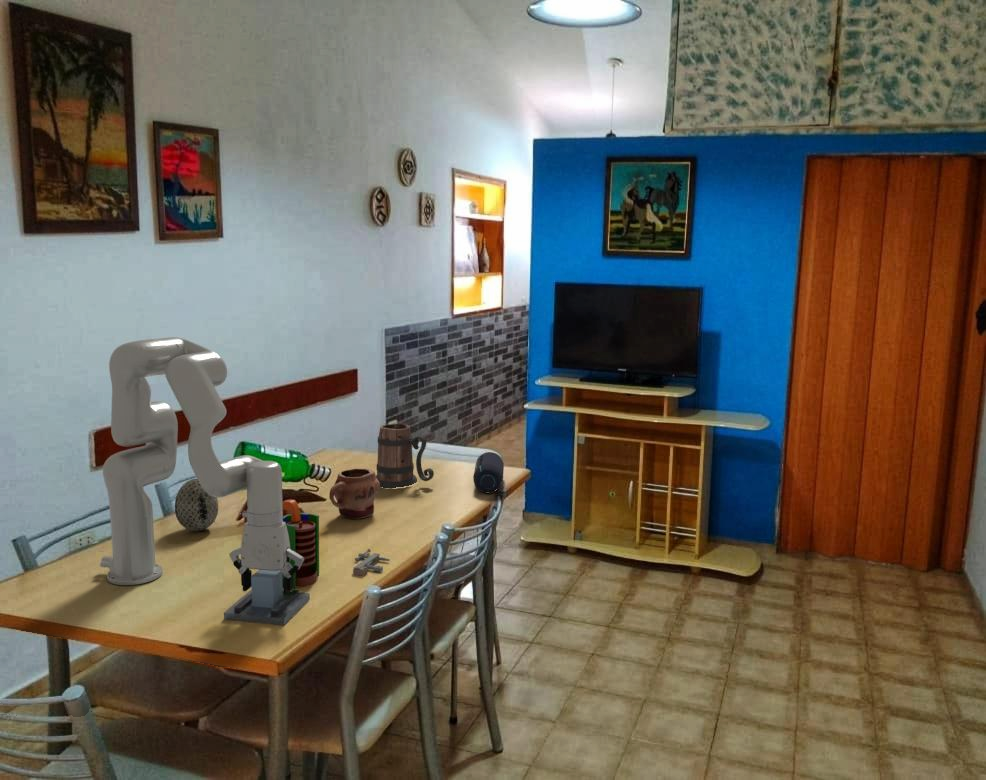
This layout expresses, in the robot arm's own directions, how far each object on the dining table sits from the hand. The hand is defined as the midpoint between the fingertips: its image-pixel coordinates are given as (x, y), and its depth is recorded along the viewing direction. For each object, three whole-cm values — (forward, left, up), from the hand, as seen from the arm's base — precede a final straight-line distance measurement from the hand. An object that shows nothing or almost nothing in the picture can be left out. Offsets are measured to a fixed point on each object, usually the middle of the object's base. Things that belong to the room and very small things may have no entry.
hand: (267, 590), depth 191 cm
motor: (0, +17, -4) cm, 18 cm away
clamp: (+14, +31, -5) cm, 34 cm away
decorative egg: (-43, +46, -4) cm, 63 cm away
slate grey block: (0, 0, -3) cm, 3 cm away
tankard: (0, +107, -5) cm, 107 cm away
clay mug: (-4, +68, -4) cm, 68 cm away
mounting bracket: (0, 0, -4) cm, 4 cm away
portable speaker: (+29, +111, -5) cm, 115 cm away
